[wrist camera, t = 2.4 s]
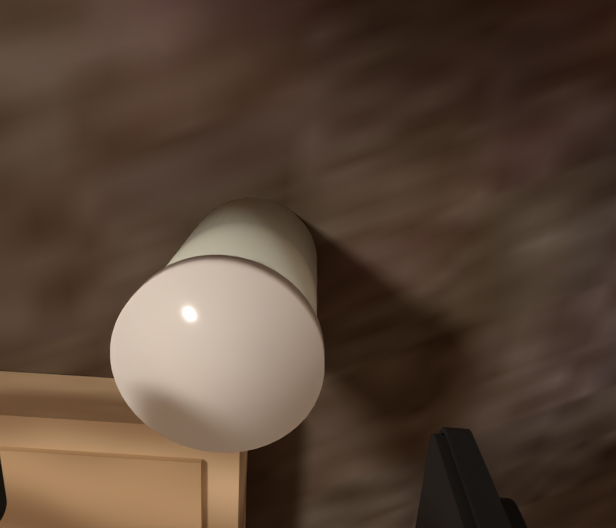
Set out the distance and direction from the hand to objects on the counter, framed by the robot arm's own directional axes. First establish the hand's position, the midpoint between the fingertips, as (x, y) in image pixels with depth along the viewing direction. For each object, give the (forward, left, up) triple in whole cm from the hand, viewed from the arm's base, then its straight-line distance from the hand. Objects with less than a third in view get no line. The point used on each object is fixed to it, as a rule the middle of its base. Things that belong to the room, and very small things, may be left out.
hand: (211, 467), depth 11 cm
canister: (-1, 0, -11) cm, 11 cm away
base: (+11, -6, -11) cm, 17 cm away
